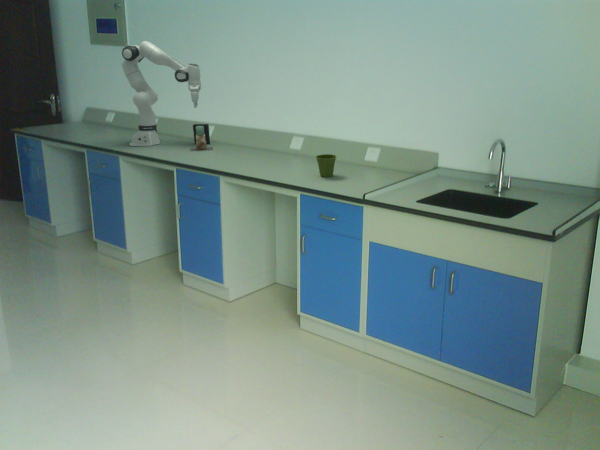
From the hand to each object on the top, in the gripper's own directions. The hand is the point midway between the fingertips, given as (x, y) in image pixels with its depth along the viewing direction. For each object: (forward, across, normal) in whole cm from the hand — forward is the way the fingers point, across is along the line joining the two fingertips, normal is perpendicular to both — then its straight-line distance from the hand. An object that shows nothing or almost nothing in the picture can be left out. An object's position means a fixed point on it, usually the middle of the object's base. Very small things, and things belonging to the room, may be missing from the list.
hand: (195, 106), depth 434 cm
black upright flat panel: (+28, +1, +3) cm, 28 cm away
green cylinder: (+17, +20, +3) cm, 27 cm away
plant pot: (+25, +115, +78) cm, 142 cm away
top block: (+22, +20, +3) cm, 30 cm away
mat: (+27, +21, +4) cm, 34 cm away
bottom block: (+27, +20, +4) cm, 34 cm away
